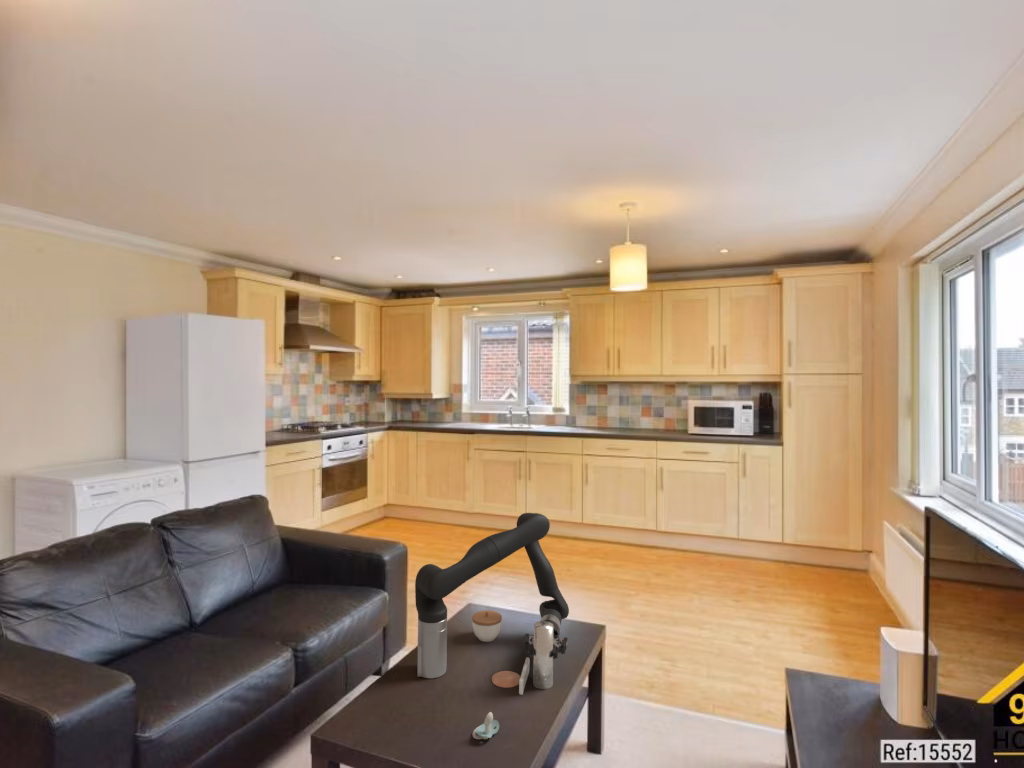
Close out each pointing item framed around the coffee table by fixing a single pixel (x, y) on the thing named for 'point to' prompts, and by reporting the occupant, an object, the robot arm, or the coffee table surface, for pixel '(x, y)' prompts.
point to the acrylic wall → (524, 676)
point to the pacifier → (486, 728)
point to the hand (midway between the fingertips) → (542, 655)
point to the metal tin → (543, 655)
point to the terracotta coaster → (506, 679)
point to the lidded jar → (486, 625)
